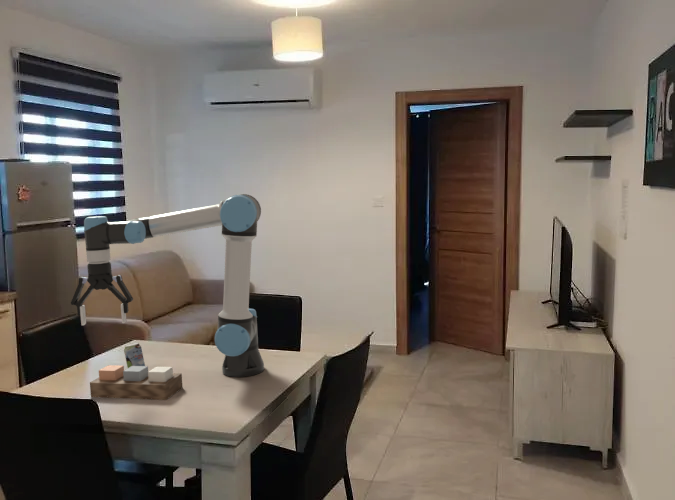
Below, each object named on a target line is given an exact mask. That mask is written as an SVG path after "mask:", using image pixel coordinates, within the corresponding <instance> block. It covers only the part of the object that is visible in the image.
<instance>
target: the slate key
mask: <svg viewBox="0 0 675 500" xmlns="http://www.w3.org/2000/svg"><path fill="white" fill-rule="evenodd" d="M148 372H149V366H148V365H145V366H131V367H129V368H128V367H127V368H126V369H124V371H123V376H124V381H142V380H143V379H145V378H146V377H148Z"/></svg>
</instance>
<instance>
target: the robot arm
mask: <svg viewBox="0 0 675 500" xmlns="http://www.w3.org/2000/svg"><path fill="white" fill-rule="evenodd" d="M261 213H262V208H261V204H260V202H259V200H257V198H255V197H254V196H253V195H250V194H246V193H243V194H234V195H232V196H230V197H228V198H227V199H224V200H221V201H220V202H219V203H217V204H212V205H208V206H207V205H206V206H201V207H200V206H199V207H194V208H190V209H184V210H180V211H172V212H167V213H163V214H156V215H151V216H145V217H138V218H134V219H130V220H126V221H125V220H124V221H109V220H108V217H107V216H102V215H101V216H100V215H98V216H97V215H95V216H88V217H86V218H85V219H84V220H83V228H84V230H83V232H84V241H85V253H86V254H85V255H86V262H87V265H86V267H87V275H88V276H87V277H84V276H79V278H78V284H77V287H76V289H75V291H74V294H73V297H72V299H71V301H70V305H72V306H75V307H76V310H77V316H80V323H81V324H80V325H81V326H85V325H87V314H86V313H87V312H86V305H85V304H84V303H85V301H86V300H87V298H88V297H89V296H90V295H91V293H92V292H93V291H94V290H96V291H98V290H99V291H100V290H106V289H107V290H109V292H111V293H112V294H113V295H114V296H115V297H116V298H117V299H118V300H119V301H120V303H121V304H120V314H121V324H126V323H127V314H128V313H129V303H131V302H133V301H134V297H133V296H132V294H131V293H130V291H129V289H128V287H127V286H126V284H125V282H124V281H123V276H122V275H121V274H118V275H115V276H114V275H113V273H112V263H111V248H110V245H117V244H118V245H121V244H122V245H123V244H124V245H126V244H132V245H135V244H141V243H143V242H144V241H145V240H146V239H151V238H156V237H163V236H167V235H168V236H169V235H174V234H180V233H185V232H191V231H197V230H202V229H209V228H215V227H220V226H221V236H223V237H224V239H225V255H224V259H225V261H224V277H223V278H224V279H223V303H222V304H223V305H222V310H221V311H220V312H219V313H218V314H217V330H216V332H215V334H214V344H215V347H216V348H217V351H219V352H220V353H222V355H224V358H223V362H222V366H221V369H222V374H223V375H225V376H227V377H233V378H239V377H240V378H241V377H242V378H243V377H251V376H255V375H259V374H261V373H263V371H264V370H265V364H264V360H263V357H262V355H261V353H260V350H259V337H258V321H257V320H258V319H257V318H258V316H257V311H256V309H254V308H250V307H249V306H250V305H249V304H250V287H251V286H250V284H251V264H252V245H253V244H252V242H253V240H254V239H256V237H257V234H258V233H257V232H258V221H259V220H260V218H261ZM113 281H114V282H115V283H117V285H118V287H119V289H120V290H121V291H119V289H117V288H116V286H115V285H114V284H113V283H112V282H113ZM87 282H88V284H89V286H88V288H87V289H86V291H85V292H84V293H83V295H82V296H81V293H82V290H83V288H84V286H85V284H86V283H87ZM80 296H81V298H80ZM79 298H80V299H79Z"/></svg>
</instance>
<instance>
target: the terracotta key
mask: <svg viewBox="0 0 675 500" xmlns="http://www.w3.org/2000/svg"><path fill="white" fill-rule="evenodd" d="M124 370H125V366H124V365H118V364H117V365H116V364H115V365H113V364H112V365H111V364H110V365H109V364H108V365H106V366H104V367H101V368H100V369H99V370H98V378H99V380H117V379H119V378H121V377H122V376H123V371H124Z"/></svg>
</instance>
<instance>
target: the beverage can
mask: <svg viewBox="0 0 675 500" xmlns="http://www.w3.org/2000/svg"><path fill="white" fill-rule="evenodd" d="M123 353H124V357H125V361H126V367H127V369H128V368H129V367H131V366H146V364H145V358H144V353H143V350H142V345H140V343H139V342H133V343H128V344H126V345H125V346H124V349H123Z"/></svg>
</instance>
